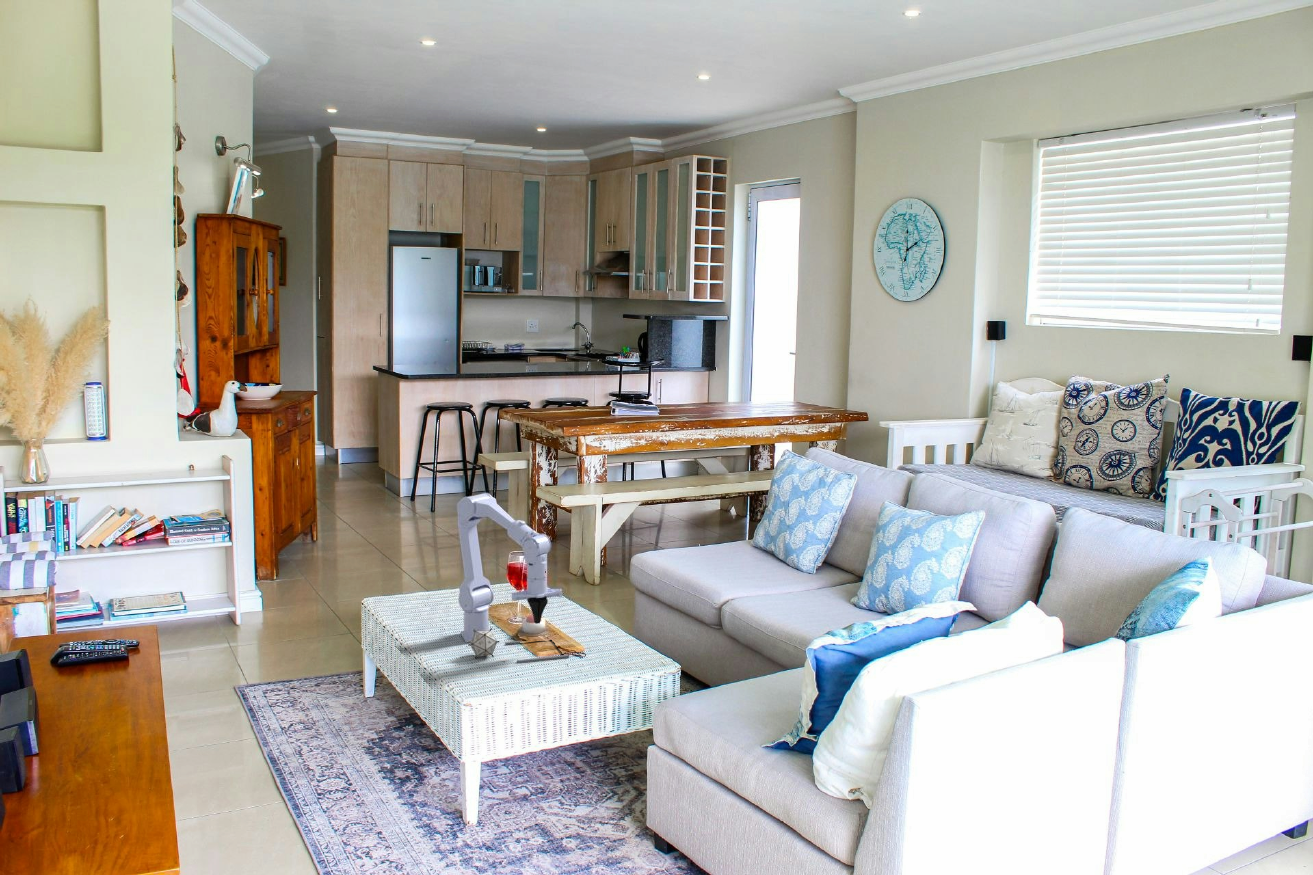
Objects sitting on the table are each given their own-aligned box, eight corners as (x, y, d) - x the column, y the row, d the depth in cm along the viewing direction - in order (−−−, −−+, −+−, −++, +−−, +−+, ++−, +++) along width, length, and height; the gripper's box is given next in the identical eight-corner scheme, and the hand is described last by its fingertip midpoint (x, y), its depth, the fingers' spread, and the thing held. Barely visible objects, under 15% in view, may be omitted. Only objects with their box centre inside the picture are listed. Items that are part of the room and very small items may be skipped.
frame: (505, 644, 312) (505, 642, 312) (554, 639, 317) (554, 637, 317) (517, 663, 296) (517, 661, 296) (568, 657, 301) (568, 655, 301)
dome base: (514, 631, 323) (514, 626, 323) (545, 628, 326) (545, 623, 326) (521, 641, 314) (521, 637, 314) (553, 638, 317) (553, 633, 317)
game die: (487, 670, 300) (491, 651, 293) (461, 658, 301) (464, 638, 294) (502, 647, 307) (505, 628, 300) (476, 635, 308) (479, 615, 301)
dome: (520, 627, 322) (519, 611, 321) (542, 625, 324) (542, 609, 324) (525, 634, 315) (525, 618, 315) (547, 632, 318) (547, 616, 317)
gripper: (515, 582, 294) (515, 629, 296) (565, 578, 299) (565, 624, 301) (509, 576, 301) (510, 621, 303) (558, 572, 306) (558, 616, 308)
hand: (537, 622), depth 302 cm, fingers closed
